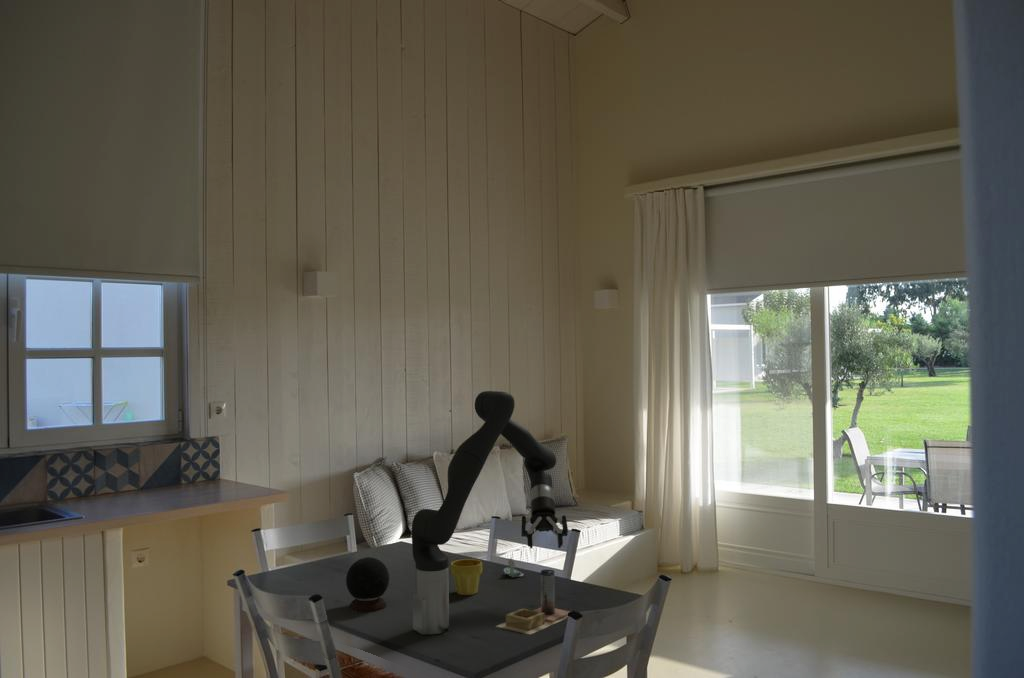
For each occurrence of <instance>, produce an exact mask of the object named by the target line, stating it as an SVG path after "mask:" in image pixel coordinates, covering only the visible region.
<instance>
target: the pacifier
mask: <svg viewBox="0 0 1024 678" xmlns="http://www.w3.org/2000/svg"><path fill="white" fill-rule="evenodd" d="M507 563H508V566H509V567H505V568H503V573H504V574H506V575H508V577H510V576H511V577H510V578H518V577H523V576H524V573H522V572H521V571H519V570H517V569H515V565H516V564H515V562H514V559H512V558H509V559H508V561H507Z"/></svg>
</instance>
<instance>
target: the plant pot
mask: <svg viewBox="0 0 1024 678" xmlns="http://www.w3.org/2000/svg"><path fill="white" fill-rule="evenodd" d="M450 573H451V575H452V576H453V581H454V585H455V589H456V594H458V595H460V596H470V595H471V596H472V595H476V594H477V593H478V589H479V583H480V578H481V574H482V573H483V562H482V561H481V560H480V559H479V560H478V559H474V558H473V559H472V558H471V559H470V558H464V559H457V560H453V561H451V563H450Z"/></svg>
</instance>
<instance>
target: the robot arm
mask: <svg viewBox="0 0 1024 678" xmlns="http://www.w3.org/2000/svg"><path fill="white" fill-rule="evenodd" d="M515 405H516V404H515V398H514V397H513V395H512V393H510V392H507V391H506V392H505V391H498V390H497V391H496V390H493V391H492V390H486V391H485V390H484V391H481V392H480V393H478V394H477V396H476V398H475V400H474V410H475V413H476V415H477V416H478V417H479V418H480V419H481V420H482V421H483V422H484V423H483V425H481V426H480V427H479V428H478V430H477V431H475V432H474V433H473V434H471V435H470V436H469V437H468V438H467V439H465V440H464V441H463V442H461V444H460V445H459V446H458V448H457V449H456V450H455V452H454V454H453V456H452V458H451V460H450V462H449V464H448V466H447V492H446V496H445V498H444V500H443V501H442V504H441V506H440V507H439V509H438V510H437V509H430V508H422V509H420V510H418V511H417V512H416V514H415V515H414V517H413V519H412V523H411V543H412V545H411V546H412V548H411V549H412V558H413V560H414V562H415V594H413V597H412V611H413V612H412V613H413V614H412V616H413V617H412V625H413V626H412V628H413V630H414V631H416V632H417V633H419V634H421V636H424V635H425V636H426V635H438V634H443V633H445V632H448V631H449V629H447V628H448V627H449V626H450V600H449V598H450V596H449V593H450V590H449V589H450V588H449V586H450V585H449V582H450V581H449V579H450V577H449V575H450V574H449V568H450V567H449V566H450V564H449V563H450V562H449V558H448V556H447V554H446V553H444V552H443V551H442V550H441V549H440V546H442V545H445V544H446V543H448V542H449V541H450V539H452V536H453V535H454V534H455V530H456V528H457V526H458V523H459V520H460V518H461V514H462V512H463V509H464V507H465V504H466V502H467V500H468V498H469V496H470V494H471V492H472V489H473V488H474V485H475V483H476V482H477V480H478V478H479V475H480V474H481V472H482V470H483V468H484V466H485V464H486V462H487V460H488V458H489V455H490V453H491V452H492V449H493V447H494V446H495V443H496V442H497V440H498V438H499V437H500V436H502V437H503V438H505V440H506V441H508V442H509V443H510V445H511V446H512V447H513V448H514V449H515V451H516V452H517V453H518V454H519V455H520V456H521V457H522V458H524V461H523V464H524V467H525V470H526V472H527V475H528V478H529V482H530V502H529V503H530V512H531V513H530V514H531V516H530V517H526V516H525V515H522V516H521V536H520V537H525V538H526V540H527V546H528V547H529V549H533V547H534V545H533V536H534V535H535V534H536V533H537V532H540V533H541V532H550V531H551V533H553V535H556V537H557V539H556V540H557V548H558V549H561V548H562V547H563V544H564V543H563V542H564V540H563V537H567V536H568V532H569V527H568V522H567V517H566V515H562V516H560V517H559V516H557V514H556V503H555V502H556V501H555V495H554V490H553V489H554V488H553V480H552V479H553V478H552V476H551V474H550V473H549V472H546V471H549V470H551V469H553V468H555V466H556V464H557V457H556V455H555V453H554V451H553V450H552V449H551V448H549V447H548V446H547V445H545V444H543V443H541V442H539V441H538V440H537V439H536V438H535V437H534V436H533V434H532V433H531V432H530V431H529V430H528V429H526V427H524V426H523V425H522V424H520V423H519V422H517V421H515V420H513V419H512V416H513V413H514V409H515ZM529 523H530V524H531V527H530V528H529V529H528V530H526V526H528V525H529ZM557 523H559V525H561V527H562V529H561V528H560V527H559V526H558V525H557Z"/></svg>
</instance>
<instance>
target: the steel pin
mask: <svg viewBox="0 0 1024 678" xmlns="http://www.w3.org/2000/svg"><path fill="white" fill-rule="evenodd" d="M555 581H556V579H555V570H554V569H541V570H540V608H541V612H543V613H545V615H553V614H555V608H556V603H555V602H556V601H555V600H556V599H555V598H556V596H555V593H556V592H555V591H556V590H555V584H556V583H555Z"/></svg>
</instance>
